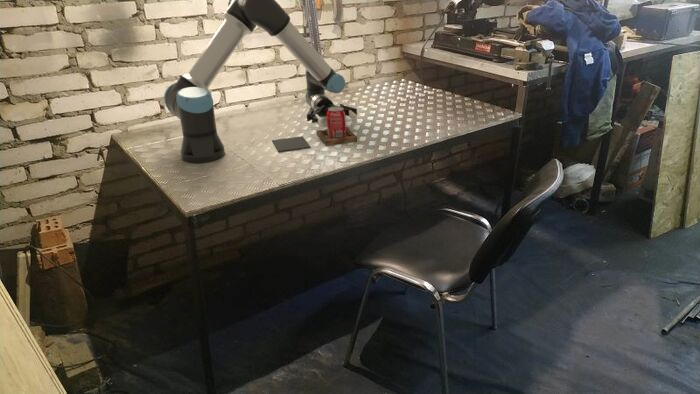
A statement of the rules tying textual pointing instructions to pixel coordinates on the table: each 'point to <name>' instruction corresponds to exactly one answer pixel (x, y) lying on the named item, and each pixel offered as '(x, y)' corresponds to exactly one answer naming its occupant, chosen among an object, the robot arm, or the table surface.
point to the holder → (336, 141)
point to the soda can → (336, 122)
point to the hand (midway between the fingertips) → (338, 120)
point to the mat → (291, 144)
